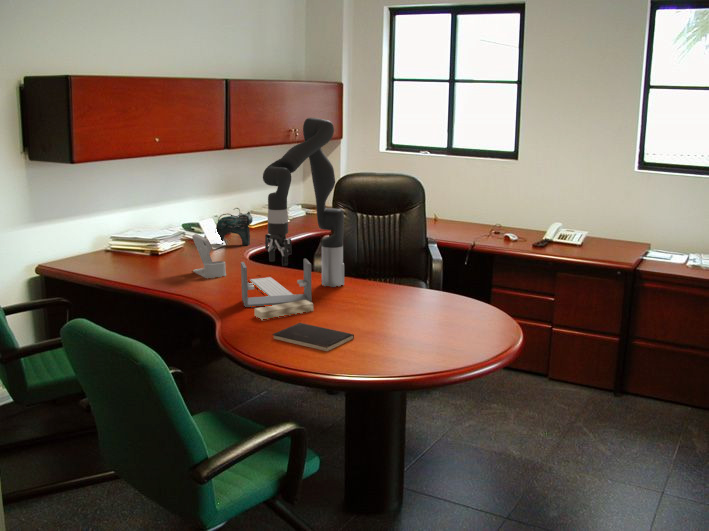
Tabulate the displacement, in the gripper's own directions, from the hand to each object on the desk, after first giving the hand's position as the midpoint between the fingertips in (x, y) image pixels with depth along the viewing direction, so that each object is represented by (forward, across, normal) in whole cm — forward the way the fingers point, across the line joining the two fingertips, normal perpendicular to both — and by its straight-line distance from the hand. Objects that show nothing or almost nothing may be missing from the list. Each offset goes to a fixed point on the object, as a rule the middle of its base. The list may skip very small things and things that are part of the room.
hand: (278, 263), depth 290 cm
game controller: (+18, -118, +50) cm, 129 cm away
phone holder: (+19, -70, +9) cm, 73 cm away
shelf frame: (+19, -12, +7) cm, 24 cm away
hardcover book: (+20, +33, -8) cm, 39 cm away
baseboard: (+20, -31, +16) cm, 40 cm away
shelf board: (+20, +2, +1) cm, 20 cm away
